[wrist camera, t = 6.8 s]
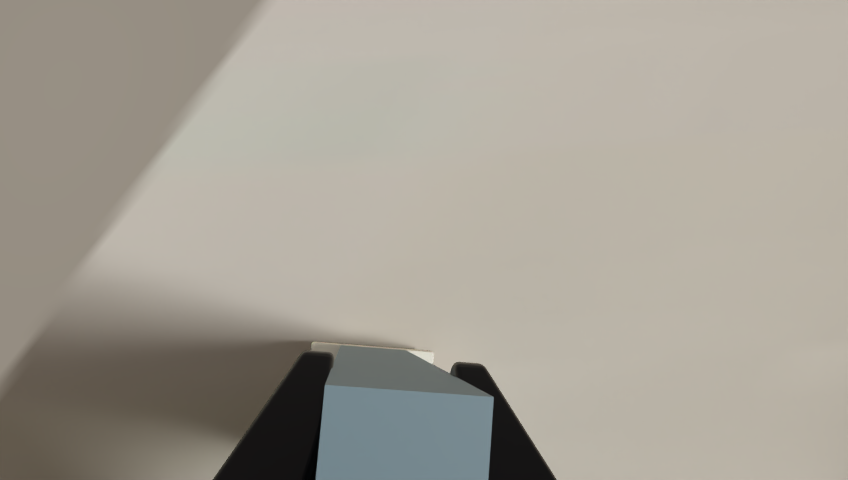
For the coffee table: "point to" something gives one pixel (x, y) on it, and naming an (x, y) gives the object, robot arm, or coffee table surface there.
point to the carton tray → (400, 418)
